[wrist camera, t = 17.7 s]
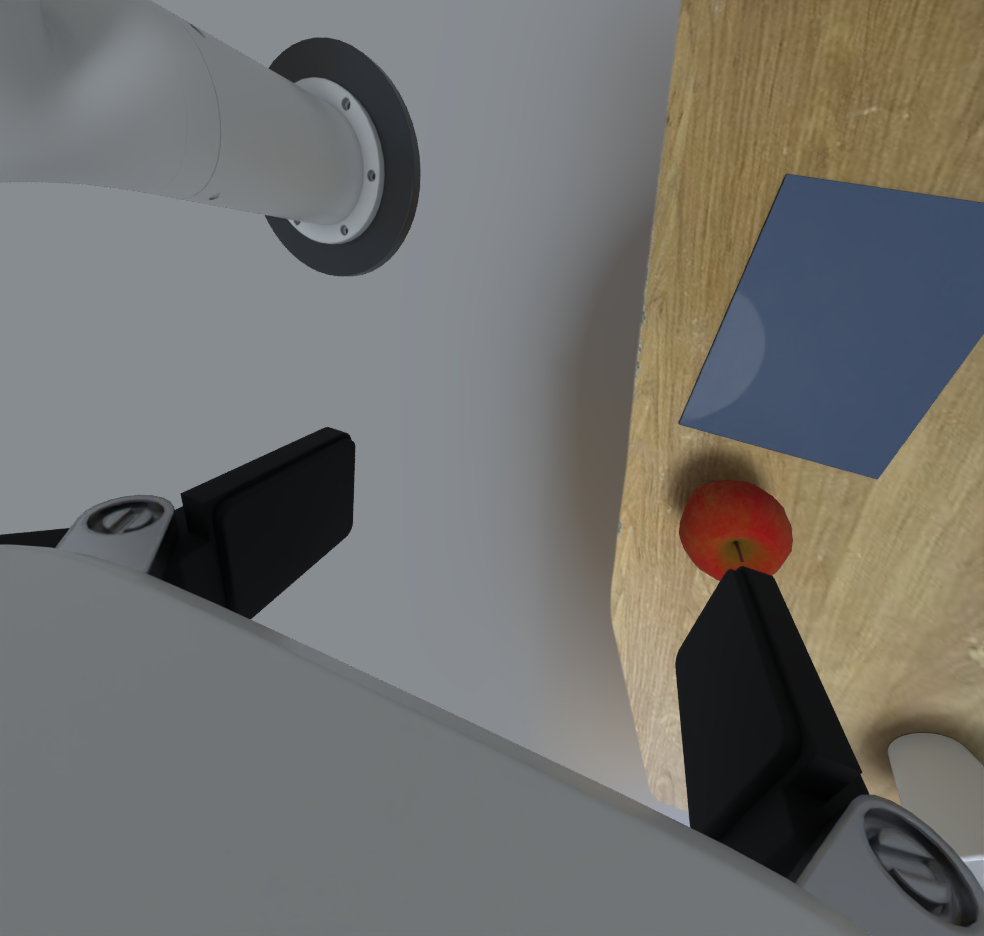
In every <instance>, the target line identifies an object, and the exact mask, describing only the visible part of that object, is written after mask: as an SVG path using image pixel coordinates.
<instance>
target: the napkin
mask: <svg viewBox="0 0 984 936" xmlns="http://www.w3.org/2000/svg"><path fill="white" fill-rule="evenodd" d="M983 334H984V203H981V202H974V201H967V200H961V199H954V198H947V197H940V196H933V195H927V194H920V193H913V192H906V191H899V190H893V189H886V188H879V187H872V186H865V185H859V184H852V183H845V182H838V181H831V180H825V179H818V178H811V177H804V176H797V175H791V174H786V176H785V178H784V180H783V183H782V185H781V187H780V190H779V192H778V194H777V197H776V199H775V201H774V203H773V206H772V208H771V210H770V213H769V215H768V217H767V220H766V222H765V224H764V227H763V229H762V231H761V234H760V236H759V238H758V241H757V243H756V245H755V248H754V250H753V252H752V254H751V257H750V259H749V261H748V264H747V266H746V268H745V271H744V273H743V275H742V278H741V280H740V282H739V285H738V287H737V289H736V292H735V294H734V296H733V299H732V301H731V303H730V306H729V308H728V310H727V312H726V315H725V317H724V319H723V322H722V324H721V326H720V329H719V331H718V333H717V336H716V338H715V340H714V343H713V345H712V347H711V350H710V352H709V354H708V357H707V359H706V361H705V363H704V366H703V368H702V370H701V373H700V375H699V377H698V380H697V382H696V384H695V387H694V389H693V391H692V394H691V396H690V398H689V401H688V403H687V405H686V408H685V410H684V412H683V415H682V417H681V419H680V421H679V424H680V425H683V426H687V427H690V428H694V429H698V430H701V431H705V432H709V433H712V434H716V435H719V436H723V437H727V438H730V439H734V440H737V441H741V442H745V443H748V444H752V445H755V446H759V447H763V448H766V449H770V450H773V451H777V452H781V453H784V454H788V455H792V456H795V457H799V458H802V459H806V460H810V461H813V462H817V463H820V464H824V465H828V466H831V467H835V468H838V469H842V470H846V471H849V472H853V473H856V474H860V475H864V476H867V477H871V478H875V479H878V478H879V477H880V475H881V474H882V473H883V471H884V470H885V469H886V467H887V466H888V464H889V463H890V462H891V460H892V459H893V458H894V456H895V455H896V453H897V452H898V451H899V449H900V448H901V447H902V445H903V444H904V442H905V441H906V440H907V438H908V437H909V436H910V434H911V433H912V431H913V430H914V429H915V427H916V426H917V425H918V423H919V422H920V420H921V419H922V418H923V416H924V415H925V414H926V412H927V411H928V409H929V408H930V407H931V405H932V404H933V403H934V401H935V400H936V399H937V397H938V396H939V394H940V393H941V392H942V390H943V389H944V388H945V386H946V385H947V383H948V382H949V381H950V379H951V378H952V377H953V375H954V374H955V372H956V371H957V370H958V368H959V367H960V366H961V364H962V363H963V361H964V360H965V359H966V357H967V356H968V355H969V353H970V352H971V350H972V349H973V348H974V346H975V345H976V344H977V342H978V341H979V339H980V338H981V337H982V335H983Z"/></svg>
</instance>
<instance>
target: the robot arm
mask: <svg viewBox="0 0 984 936" xmlns="http://www.w3.org/2000/svg"><path fill="white" fill-rule="evenodd" d="M375 176H376V177H375ZM384 178H385V172H384V157H383V152H382V147H381V142H380V139H379V136H378V133H377V130H376V128H375V126H374V124H373V122H372V120H371V118H370V116H369V114H368V112H367V111H366V110H365V108H364V107H363V106H362V104H361V103H360V102H359V100H358V99H356V98H355V97H354V96H353V95H352V94H351V93H350V92H349V91H347V90H346V89H344V88H343V87H341V86H340V85H338V84H337V83H334V82H332V81H330V80H327V79H324V78H316V77H312V78H306V79H302V80H300V81H298V82H296V83H293V82H291V81H289V80H288V79H286V78H284V77H282V76H281V75H279V74H277V73H275V72H274V71H272V70H270V69H268V68H267V67H265V66H263V65H262V64H260V63H258V62H256V61H255V60H253V59H251V58H249V57H248V56H246V55H244V54H242V53H241V52H239V51H237V50H235V49H234V48H232V47H230V46H229V45H227V44H225V43H223V42H221V41H220V40H218V39H216V38H215V37H213V36H211V35H209V34H208V33H206V32H204V31H203V30H201V29H199V28H197V27H196V26H194V25H192V24H190V23H189V22H187V21H185V20H184V19H182V18H180V17H178V16H177V15H175V14H173V13H171V12H170V11H168V10H166V9H164V8H163V7H161V6H159V5H158V4H156V3H154V2H152V1H151V0H0V182H52V183H54V182H55V183H74V184H86V185H94V186H103V187H111V188H118V189H125V190H131V191H137V192H143V193H149V194H154V195H160V196H165V197H171V198H176V199H181V200H186V201H192V202H197V203H203V204H209V205H214V206H220V207H225V208H230V209H236V210H241V211H247V212H253V213H258V214H263V215H268V216H274V217H279V218H285V219H288V220H289V222H290V223H291V224H292V225H293V226H294V227H295V228H296V229H297V230H298V231H299V232H300V233H302V234H303V235H305V236H307V237H308V238H310V239H312V240H315V241H317V242H320V243H326V244H343V243H346V242H350V241H352V240H354V239H355V238H357V237H359V236H360V235H361V234H362V233H363V232H364V231H365V230H366V229H367V228H368V227H369V225H370V224H371V222H372V221H373V219H374V218H375V216H376V213H377V211H378V208H379V206H380V203H381V199H382V194H383V189H384ZM354 471H355V443H354V442H353V441H352V440H351V437H350V435H349V434H348V433H345V432H342V431H339V430H336V429H333V428H329V427H325V428H323V429H321V430H318V431H316V432H314V433H312V434H310V435H307V436H305V437H303V438H301V439H299V440H297V441H295V442H292V443H290V444H288V445H286V446H283V447H281V448H279V449H277V450H275V451H273V452H270V453H268V454H266V455H264V456H262V457H259V458H257V459H255V460H253V461H251V462H249V463H246V464H244V465H242V466H240V467H238V468H235V469H233V470H231V471H229V472H227V473H225V474H222V475H220V476H218V477H216V478H214V479H211V480H209V481H207V482H205V483H203V484H201V485H198V486H196V487H194V488H192V489H190V490H187V491H185V492H183V493H181V498H182V503H183V506H182V507H180V508H178V509H176V510H175V509H174V506H173V505H172V504H171V502H170V501H168V500H166V499H165V498H162V497H157V496H153V495H135V496H125V497H120V498H116V499H112V500H108V501H106V502H103V503H100V504H98V505H95V506H94V507H92V508H90V509H88V510H86V511H85V512H84V513H83V514H82V515H80V516H79V517H78V518H77V520H76V521H75V522H74V524H73V525H72V526H71V528H66V529H55V530H45V531H36V532H24V533H14V534H4V535H0V936H984V891H983V889H982V887H981V886H980V884H979V882H978V881H977V879H976V878H975V876H974V874H973V873H972V871H971V870H970V869H969V868H968V867H967V865H966V864H965V863H964V862H963V860H962V859H961V858H960V857H959V856H958V854H957V853H956V852H955V851H954V849H953V848H952V847H951V846H950V845H949V844H948V843H947V842H945V841H944V840H943V839H942V838H941V837H940V836H939V835H938V834H937V833H936V832H935V831H934V830H933V829H932V828H931V827H930V826H928V825H927V824H926V823H924V822H923V821H922V820H921V819H919V818H918V817H917V816H915V815H914V814H913V813H912V812H910V811H908V810H907V809H905V808H903V807H901V806H900V805H898V804H896V803H894V802H893V801H891V800H888V799H885V798H882V797H879V796H876V795H869V792H868V790H867V788H866V786H865V783H864V781H863V779H862V777H861V775H860V774H861V773H862V771H861V768H860V766H859V764H858V762H857V760H856V757H855V755H854V753H853V751H852V749H851V746H850V744H849V742H848V740H847V738H846V735H845V733H844V731H843V729H842V726H841V724H840V722H839V720H838V718H837V715H836V713H835V711H834V709H833V707H832V704H831V702H830V700H829V698H828V696H827V693H826V691H825V689H824V687H823V685H822V682H821V680H820V678H819V676H818V674H817V671H816V669H815V667H814V665H813V663H812V660H811V658H810V656H809V654H808V652H807V649H806V647H805V645H804V643H803V641H802V638H801V636H800V634H799V632H798V629H797V627H796V625H795V623H794V621H793V618H792V616H791V614H790V612H789V610H788V607H787V605H786V603H785V601H784V599H783V596H782V594H781V592H780V590H779V588H778V585H777V583H776V581H775V579H774V578H773V576H771V575H769V574H766V573H763V572H760V571H757V570H754V569H751V568H748V567H745V566H740V567H739V568H737V569H736V570H733V569H729V570H727V571H726V573H725V574H724V576H723V577H722V579H721V581H720V582H719V584H718V586H717V587H716V589H715V591H714V592H713V594H712V596H711V597H710V599H709V601H708V602H707V604H706V606H705V607H704V609H703V611H702V612H701V614H700V616H699V617H698V619H697V621H696V622H695V624H694V626H693V627H692V629H691V631H690V632H689V634H688V636H687V637H686V639H685V641H684V642H683V644H682V646H681V647H680V649H679V651H678V654H677V657H676V663H675V666H676V678H677V689H678V700H679V711H680V722H681V733H682V744H683V755H684V765H685V776H686V787H687V798H688V809H689V820H690V827H688V826H685V825H684V824H682V823H680V822H678V821H675V820H674V819H671V818H669V817H667V816H665V815H663V814H661V813H659V812H657V811H655V810H653V809H651V808H649V807H647V806H645V805H643V804H641V803H639V802H637V801H635V800H633V799H631V798H629V797H627V796H625V795H623V794H621V793H619V792H617V791H614V790H612V789H610V788H608V787H606V786H604V785H602V784H600V783H598V782H596V781H594V780H591V779H589V778H587V777H585V776H583V775H581V774H579V773H576V772H574V771H572V770H570V769H568V768H566V767H564V766H562V765H560V764H558V763H555V762H553V761H551V760H549V759H547V758H545V757H543V756H541V755H539V754H537V753H534V752H532V751H530V750H528V749H526V748H524V747H522V746H520V745H518V744H516V743H513V742H511V741H509V740H507V739H505V738H503V737H501V736H499V735H496V734H494V733H492V732H490V731H488V730H486V729H484V728H482V727H480V726H477V725H476V724H473V723H471V722H469V721H467V720H465V719H463V718H460V717H458V716H456V715H454V714H452V713H450V712H448V711H446V710H444V709H441V708H439V707H437V706H435V705H433V704H431V703H428V702H426V701H424V700H422V699H420V698H418V697H416V696H414V695H411V694H409V693H407V692H405V691H403V690H401V689H398V688H396V687H394V686H392V685H390V684H388V683H386V682H384V681H382V680H379V679H377V678H375V677H373V676H371V675H369V674H367V673H364V672H362V671H360V670H358V669H356V668H354V667H352V666H349V665H347V664H345V663H343V662H341V661H339V660H337V659H334V658H332V657H330V656H328V655H326V654H324V653H322V652H319V651H317V650H315V649H313V648H311V647H308V646H306V645H304V644H302V643H300V642H298V641H296V640H293V639H291V638H289V637H287V636H285V635H283V634H280V633H278V632H276V631H274V630H272V629H269V628H267V627H265V626H263V625H261V624H259V623H256V622H254V621H252V620H250V619H252V618H253V617H254V616H255V615H256V614H257V613H259V612H260V611H261V610H262V609H263V608H264V607H266V606H267V605H268V604H269V603H270V602H271V601H273V600H274V599H275V598H276V597H277V596H278V595H279V594H281V593H282V592H283V591H284V590H285V589H286V588H288V587H289V586H290V585H291V584H292V583H293V582H294V581H296V580H297V579H298V578H299V577H300V576H302V575H303V574H304V573H305V572H306V571H307V570H308V569H310V568H311V567H312V566H313V565H314V564H315V563H317V562H318V561H319V560H320V559H321V558H322V557H324V556H325V555H326V554H327V553H328V552H329V551H330V550H332V549H333V547H335V546H336V545H337V544H339V543H340V542H341V541H342V540H343V539H344V538H346V536H348V534H349V533H350V531H351V529H352V525H353V502H354Z"/></svg>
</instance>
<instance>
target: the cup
mask: <svg viewBox="0 0 984 936" xmlns="http://www.w3.org/2000/svg"><path fill="white" fill-rule="evenodd" d="M888 756H889V760H890V764H891V768H892V771H893V775H894V779H895V783H896V786H897V790H898V794H899V798H900V801H901V805H902V807H903V808H905V809H907V810H908V811H910V812H912V813H913V814H914V815H915V816H917V817H918V818H919V819H921V820H922V821H923V822H924V823H926V824H927V825H928V826H930V827H931V828H932V829H933V830H934V831H935V832H936V833H937V834H938V835H939V836H940V837H941V838H942V839H943V840H944V841H945V842H947V843H948V844H949V845H950V846H951V847H952V848H953V849H954V851H955V852H956V853H957V854H958V856H959V857H960V858H961V859H962V860H963V862H964V863H965V864H966V865H967V867H968V868H969V869H970V870H971V871H972V873H973V874H974V876H975V878H976V879H977V881H978V882H979V884H980V886H981V887H982V889H983V891H984V766H983V765H982V764H981V763H980V762H979V761H978V760H977V759H976V758H975V757H974V756H973V755H972V754H971V753H970V752H969V751H968V750H967V749H966V748H965V747H964V746H963V745H962V744H961V743H959V742H957V741H955V740H954V739H951V738H948V737H946V736H943V735H938V734H933V733H914V734H908V735H904V736H901V737H899V738H897V739H895V740H894V741H893V742H892V743H891V744H890V745H889V747H888Z"/></svg>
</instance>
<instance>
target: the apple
mask: <svg viewBox="0 0 984 936" xmlns="http://www.w3.org/2000/svg"><path fill="white" fill-rule="evenodd" d="M679 535H680V539H681V542H682V545H683V547H684V550H685V551H686V552H687V554H688V555H689V557H690V558H691V560H692V561H693V562H694V564H695V565H696V566H697V567H698V568H699V569H700V570H702V571H703V572H705V573H707V574H708V575H710V576H712V577H713V578H715V579H716V580H719V581H721V579H722V577H723V576H724V574H725V573H726V571H727V570H729V569H733V570H736V569H737V568H739V567H740V566H745V567H748V568H751V569H754V570H757V571H760V572H763V573H766V574H769V575H771V576H772V575H773V574H775V573H776V572H777V571H778V570H779V569H780V567H781V566H782V565H783V563H784V562H785V560H786V559H787V557H788V556H789V554H790V553H791V551H792V542H793V538H792V528H791V524H790V522H789V520H788V518H787V516H786V513H785V510H784V508H783V507H782V506H781V505H780V503H779V502H778V501H777V500H776V499H775V498H774V497H773V496H771V495H770V494H768V493H767V492H765V491H764V490H762V489H761V488H759V487H758V486H756V485H755V484H751V483H748V482H745V481H735V480H725V481H715V482H711V483H708V484H704V485H702V486H701V487H699V488H698V489H696V490H695V491H694V492H693V493H692V495H691V496H690V497H689V498H688V501H687V504H686V507H685V509H684V512H683V515H682V518H681V521H680V528H679Z"/></svg>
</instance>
